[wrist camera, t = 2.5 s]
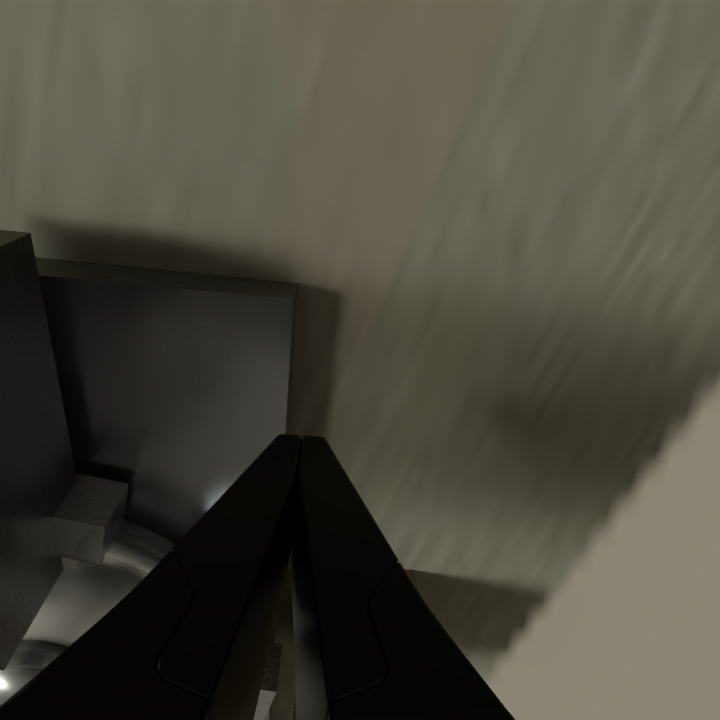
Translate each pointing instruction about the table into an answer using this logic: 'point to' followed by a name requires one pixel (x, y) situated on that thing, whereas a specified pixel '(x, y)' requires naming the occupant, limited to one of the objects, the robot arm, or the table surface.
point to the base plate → (168, 381)
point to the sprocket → (56, 502)
